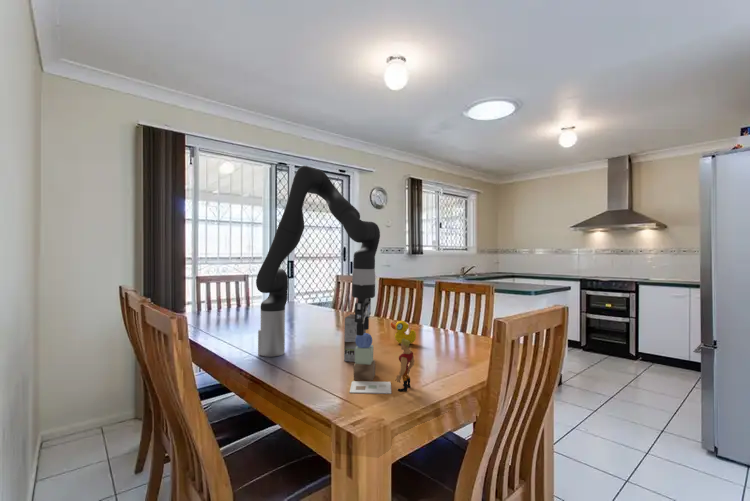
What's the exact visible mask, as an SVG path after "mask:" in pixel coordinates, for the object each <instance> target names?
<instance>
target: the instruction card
mask: <svg viewBox="0 0 750 501" xmlns="http://www.w3.org/2000/svg"><path fill="white" fill-rule="evenodd" d="M391 382H392V381H364V380H352V381H351V383H350V389H349V394H380V395H381V394H383V395H385V394H387V395H391V394H392V384H391Z"/></svg>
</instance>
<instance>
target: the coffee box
mask: <svg viewBox="0 0 750 501" xmlns="http://www.w3.org/2000/svg"><path fill="white" fill-rule="evenodd" d="M359 319H361V317H359ZM354 320H355V313H354V314H351V313H350V314H349V315H348V316H346V317H344V342H343V344H344V349H343V351H344V352H343V353H344V354H343V361H344V362H351V363H352V362H354V363H355V348H356V347H357V345H356V342H355V339H356V336H357V334H356V333H357V323H356V322H355V321H354ZM366 331H367V330H364V333H367V332H366Z"/></svg>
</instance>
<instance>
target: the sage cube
mask: <svg viewBox="0 0 750 501" xmlns="http://www.w3.org/2000/svg"><path fill="white" fill-rule="evenodd" d="M373 360H374V344H371V346H370V347H369V348H359V347H358V346H357V347H356V348H355V362H354V364H366V365H371V363H372V362H373Z"/></svg>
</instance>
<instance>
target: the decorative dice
mask: <svg viewBox="0 0 750 501" xmlns="http://www.w3.org/2000/svg"><path fill="white" fill-rule="evenodd" d="M355 342H356V345H357V346H358V347H359V348H369V347H370V346H371V345H373V336H372V335H371V334H370V333H368V332H366V333H364V334H363V335H362V336H360V335H357V336H356V339H355Z"/></svg>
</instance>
